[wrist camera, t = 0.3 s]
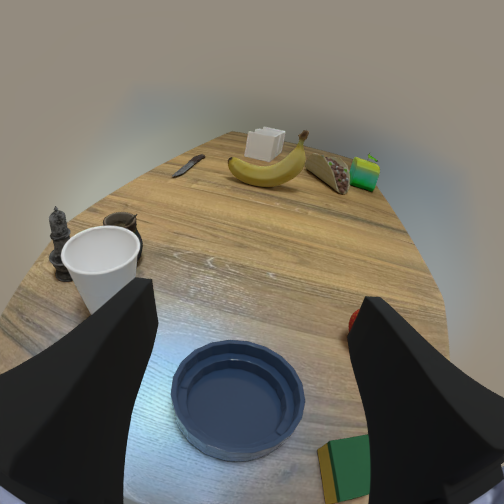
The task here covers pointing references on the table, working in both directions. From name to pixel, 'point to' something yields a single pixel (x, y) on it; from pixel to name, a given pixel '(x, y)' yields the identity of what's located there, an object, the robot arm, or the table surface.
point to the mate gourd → (124, 224)
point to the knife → (189, 164)
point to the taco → (330, 171)
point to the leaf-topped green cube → (364, 173)
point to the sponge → (345, 468)
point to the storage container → (264, 143)
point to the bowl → (236, 399)
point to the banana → (271, 168)
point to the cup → (101, 262)
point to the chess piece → (59, 243)
